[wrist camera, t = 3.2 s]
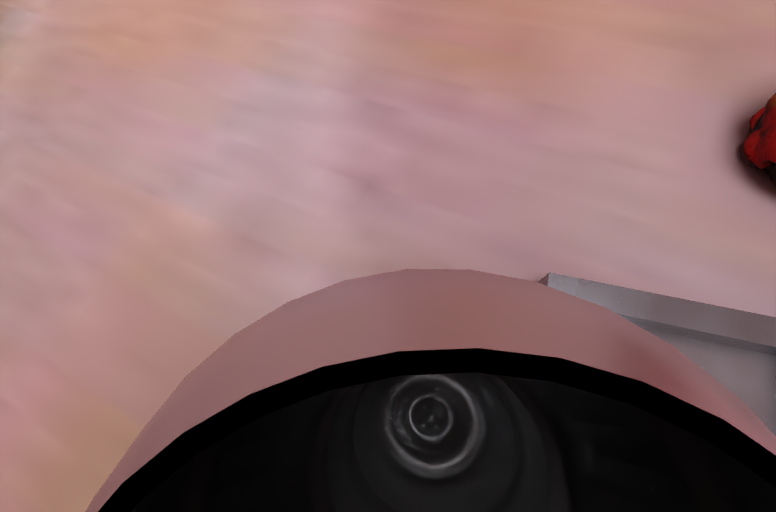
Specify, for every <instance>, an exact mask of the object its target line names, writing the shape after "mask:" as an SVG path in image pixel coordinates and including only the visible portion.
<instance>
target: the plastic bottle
mask: <svg viewBox="0 0 776 512" xmlns="http://www.w3.org/2000/svg"><path fill="white" fill-rule="evenodd" d="M86 512H776V436H775V435H774V434H773V433H772V432H771V431H770V430H769V429H768V428H767V426H766V425H765V424H764V423H763V422H762V421H761V420H760V419H759V418H758V417H757V416H756V415H755V414H754V413H753V411H752V410H751V409H750V408H749V407H748V406H747V405H746V404H745V403H744V402H743V401H742V400H741V399H740V398H739V397H737V396H736V395H735V394H733V393H732V392H731V391H730V390H728V389H727V388H726V387H725V386H723V385H722V384H721V383H720V382H718V381H717V380H716V379H715V378H713V377H712V376H711V375H709V374H708V373H707V372H706V371H704V370H703V369H702V368H701V367H699V366H698V365H697V364H696V363H694V362H693V361H692V360H691V359H689V358H688V357H687V356H685V355H684V354H683V353H682V352H680V351H679V350H678V349H677V348H675V347H674V346H673V345H671V344H669V343H667V342H666V341H664V340H662V339H660V338H659V337H657V336H655V335H653V334H651V333H650V332H648V331H646V330H644V329H643V328H641V327H639V326H637V325H636V324H634V323H632V322H630V321H628V320H627V319H625V318H623V317H621V316H620V315H618V314H616V313H614V312H613V311H611V310H609V309H607V308H605V307H603V306H601V305H598V304H595V303H592V302H590V301H587V300H584V299H582V298H579V297H576V296H573V295H571V294H568V293H565V292H562V291H560V290H557V289H554V288H552V287H549V286H546V285H543V284H541V283H538V282H534V281H529V280H523V279H518V278H513V277H507V276H502V275H496V274H491V273H485V272H480V271H474V270H448V269H406V270H400V271H395V272H389V273H384V274H378V275H373V276H367V277H362V278H356V279H351V280H345V281H342V282H340V283H337V284H334V285H332V286H329V287H327V288H324V289H321V290H319V291H316V292H313V293H311V294H308V295H305V296H303V297H300V298H298V299H295V300H292V301H290V302H287V303H286V304H284V305H282V306H281V307H279V308H277V309H276V310H274V311H272V312H271V313H269V314H267V315H266V316H264V317H262V318H261V319H259V320H257V321H256V322H254V323H253V324H251V325H249V326H248V327H246V328H244V329H243V330H241V331H239V332H238V333H236V334H234V335H233V336H232V337H231V338H230V339H229V340H227V341H226V342H225V343H224V344H223V345H222V346H221V347H219V348H218V349H217V350H216V351H215V352H214V353H213V354H211V355H210V356H209V357H208V358H207V359H206V360H205V361H203V362H202V363H201V364H200V365H199V366H198V367H197V368H195V369H194V370H193V371H192V372H191V373H190V374H189V375H187V376H186V377H185V378H184V379H183V381H182V382H181V383H180V384H179V386H178V387H177V388H176V389H175V390H174V392H173V393H172V394H171V395H170V397H169V398H168V399H167V400H166V402H165V403H164V404H163V405H162V406H161V408H160V409H159V410H158V411H157V413H156V414H155V415H154V416H153V417H152V419H151V420H150V421H149V422H148V424H147V425H146V426H145V427H144V429H143V430H142V431H141V432H140V434H139V435H138V436H137V438H136V439H135V441H134V442H133V443H132V445H131V446H130V448H129V449H128V450H127V452H126V453H125V455H124V456H123V457H122V459H121V460H120V462H119V463H118V464H117V466H116V467H115V469H114V470H113V471H112V473H111V474H110V476H109V477H108V478H107V480H106V481H105V483H104V484H103V485H102V487H101V488H100V490H99V491H98V492H97V494H96V495H95V497H94V498H93V500H92V501H91V503H90V505H89V506H88V508H87V510H86Z"/></svg>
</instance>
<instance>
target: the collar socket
mask: <svg viewBox="0 0 776 512" xmlns="http://www.w3.org/2000/svg"><path fill="white" fill-rule="evenodd" d="M538 283H541V284H543V285H546V286H549V287H552V288H554V289H557V290H560V291H562V292H565V293H568V294H571V295H573V296H576V297H579V298H582V299H584V300H587V301H590V302H592V303H595V304H598V305H601V306H603V307H605V308H607V309H609V310H611V311H613V312H614V313H616V314H618V315H620V316H621V317H623V318H625V319H627V320H628V321H630V322H632V323H634V324H636V325H637V326H639V327H641V328H643V329H644V330H646V331H648V332H650V333H651V334H653V335H655V336H657V337H659V338H660V339H662V340H664V341H666V342H667V343H669V344H671V345H673V346H674V347H675V348H677V349H678V350H679V351H680V352H682V353H683V354H684V355H685V356H687V357H688V358H689V359H691V360H692V361H693V362H694V363H696V364H697V365H698V366H699V367H701V368H702V369H703V370H704V371H706V372H707V373H708V374H709V375H711V376H712V377H713V378H715V379H716V380H717V381H718V382H720V383H721V384H722V385H723V386H725V387H726V388H727V389H728V390H730V391H731V392H732V393H733V394H735V395H736V396H737V397H739V398H740V399H741V400H742V401H743V402H744V403H745V404H746V405H747V406H748V407H749V408H750V409H751V410H752V411H753V413H754V414H755V415H756V416H757V417H758V418H759V419H760V420H761V421H762V422H763V423H764V424H765V425H766V426H767V428H768V429H769V430H770V431H771V432H772V433H773V434H774V435H775V436H776V318H775V317H770V316H765V315H760V314H755V313H750V312H745V311H740V310H735V309H730V308H725V307H720V306H715V305H710V304H705V303H700V302H695V301H690V300H685V299H680V298H675V297H670V296H665V295H660V294H655V293H650V292H645V291H640V290H635V289H629V288H624V287H619V286H614V285H609V284H604V283H599V282H594V281H589V280H584V279H579V278H574V277H569V276H564V275H559V274H554V273H548V274H547V275H546V276H545V277H544V278H542V279H541V280H540V281H539V282H538Z"/></svg>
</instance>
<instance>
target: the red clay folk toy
mask: <svg viewBox="0 0 776 512" xmlns="http://www.w3.org/2000/svg"><path fill="white" fill-rule="evenodd" d="M749 122H750V130H749V134H748V136H747V138H746V140H745V141H744V142H743V143H742V144H741V147H740V153H741V157H742V159H743V160H744V161H745V162H746V163H747V164H748V165H750V166H754V167H758V168H760V169H763V168H766V169H768V170H769V169H770V172H771V181H774V182H775V183H776V94H775V95H774V96H773V97H771V98H770V99H769V100H768V102H767V104H766V106H765V107H764V108H762V109H760V110H759V111H758V112H757V113H756V114H755V115H753V116H752V118H751V119H750V121H749Z"/></svg>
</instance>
